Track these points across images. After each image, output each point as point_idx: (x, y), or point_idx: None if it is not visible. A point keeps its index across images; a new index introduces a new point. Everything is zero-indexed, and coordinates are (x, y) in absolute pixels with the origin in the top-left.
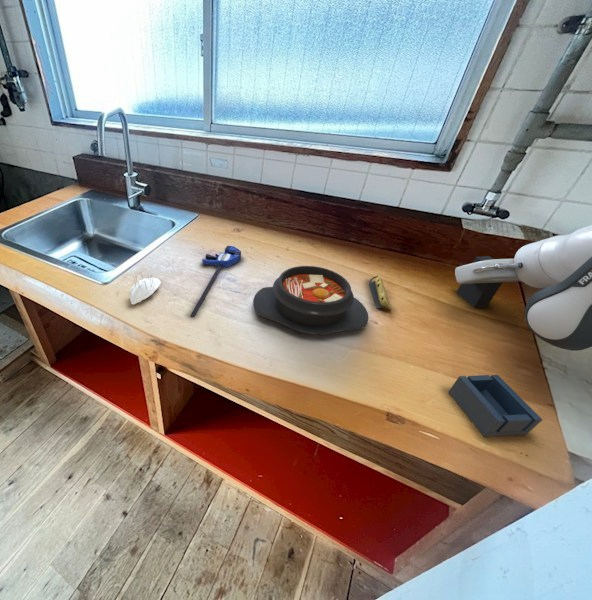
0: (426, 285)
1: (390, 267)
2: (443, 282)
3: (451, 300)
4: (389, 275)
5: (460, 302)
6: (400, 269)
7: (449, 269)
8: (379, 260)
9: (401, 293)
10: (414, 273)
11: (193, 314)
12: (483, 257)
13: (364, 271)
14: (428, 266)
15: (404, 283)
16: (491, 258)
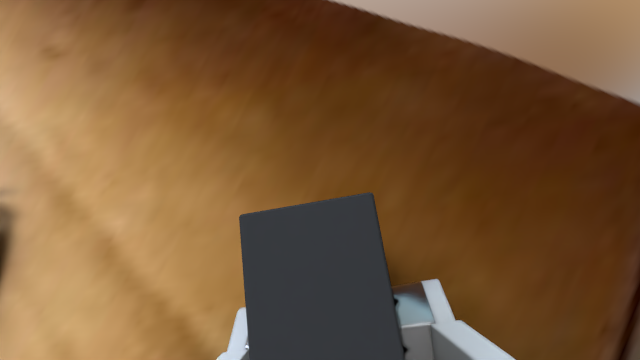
0: (207, 205)
1: (132, 73)
2: (297, 170)
3: None
4: (94, 138)
5: None
6: (164, 83)
7: (380, 54)
8: (117, 24)
9: (64, 285)
10: (206, 108)
11: None
12: (294, 230)
13: (13, 118)
14: (297, 42)
15: (121, 198)
16: (360, 248)
